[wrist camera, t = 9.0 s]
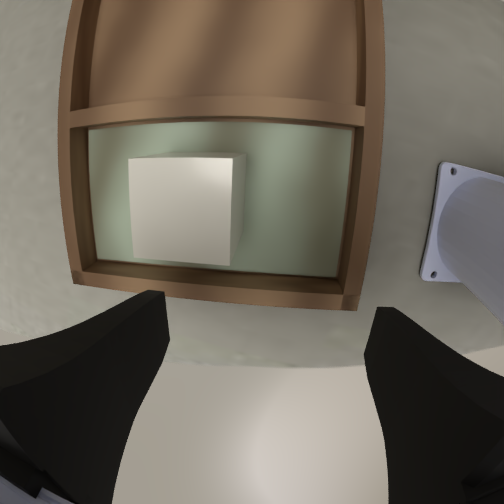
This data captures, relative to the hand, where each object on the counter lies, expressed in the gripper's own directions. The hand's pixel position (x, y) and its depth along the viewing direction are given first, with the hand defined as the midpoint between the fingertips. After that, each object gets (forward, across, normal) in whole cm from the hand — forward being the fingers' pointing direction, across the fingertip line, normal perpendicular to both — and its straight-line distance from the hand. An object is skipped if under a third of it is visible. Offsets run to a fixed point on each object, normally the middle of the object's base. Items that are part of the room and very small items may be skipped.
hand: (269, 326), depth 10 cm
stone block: (+8, +4, -3) cm, 10 cm away
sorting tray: (+9, +4, -8) cm, 13 cm away
